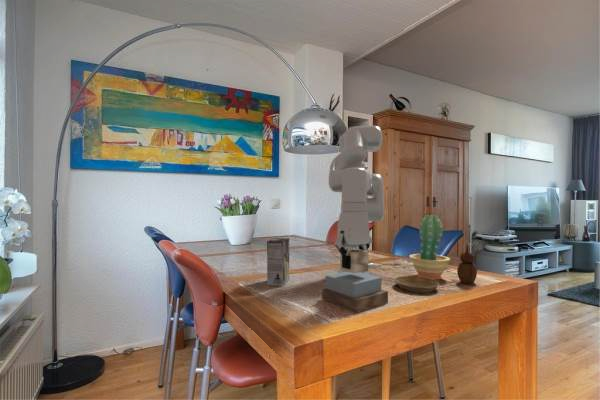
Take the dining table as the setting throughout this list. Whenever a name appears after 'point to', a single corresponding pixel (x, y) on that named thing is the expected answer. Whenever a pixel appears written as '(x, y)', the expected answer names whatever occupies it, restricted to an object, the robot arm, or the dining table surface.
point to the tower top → (353, 283)
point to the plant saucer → (416, 284)
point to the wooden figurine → (467, 268)
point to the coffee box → (277, 261)
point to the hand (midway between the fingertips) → (354, 266)
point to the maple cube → (357, 261)
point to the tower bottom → (355, 300)
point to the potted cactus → (430, 250)
